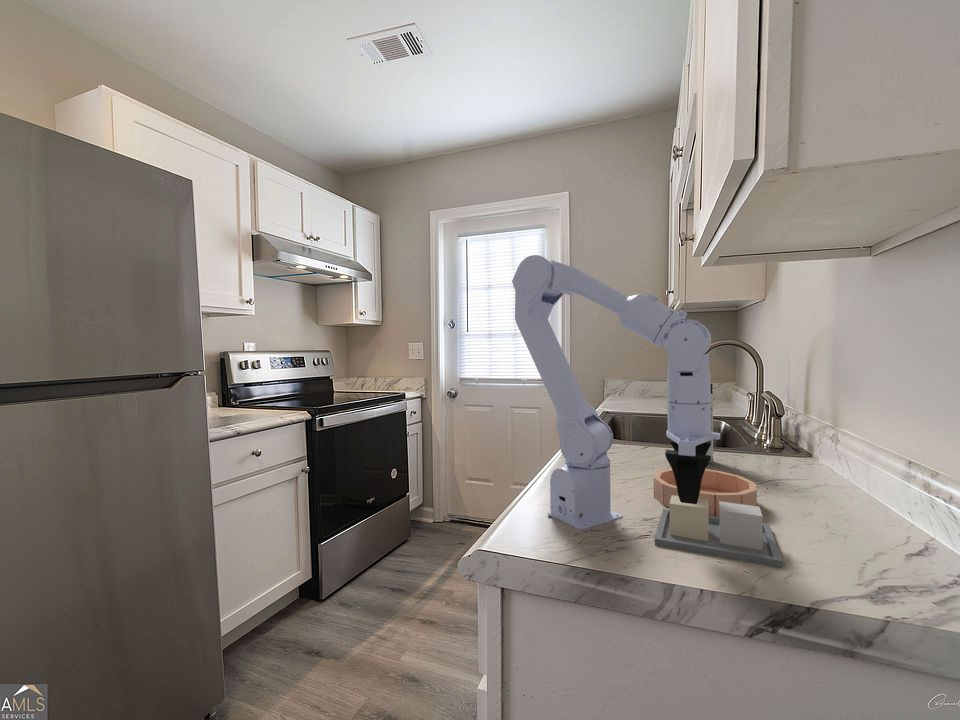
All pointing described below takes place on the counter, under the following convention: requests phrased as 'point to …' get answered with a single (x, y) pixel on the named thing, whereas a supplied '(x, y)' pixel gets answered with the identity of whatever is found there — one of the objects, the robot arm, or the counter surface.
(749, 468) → the counter surface
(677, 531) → the cream block
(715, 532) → the tray
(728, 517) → the pale grey cube
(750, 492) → the bowl
